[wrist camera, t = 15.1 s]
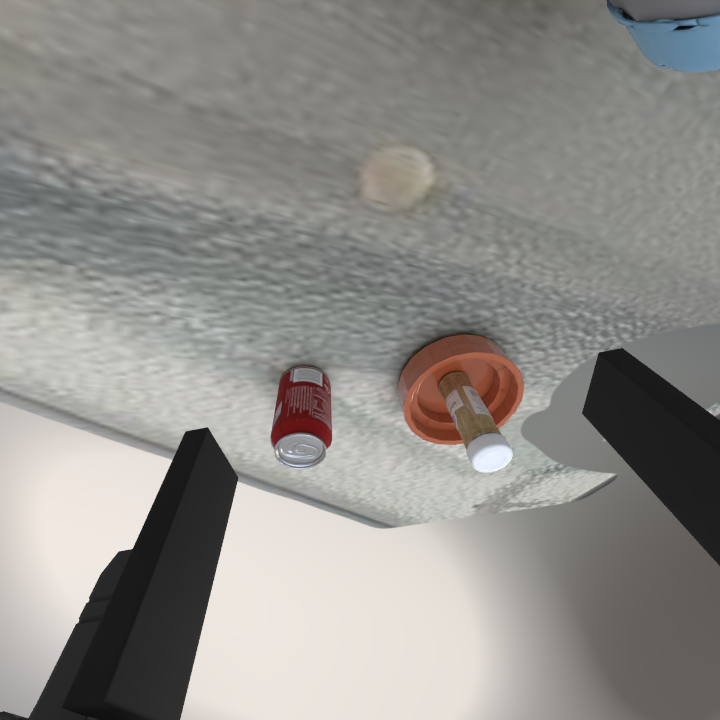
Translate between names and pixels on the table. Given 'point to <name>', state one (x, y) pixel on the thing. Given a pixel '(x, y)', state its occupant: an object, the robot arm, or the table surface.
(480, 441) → the sprinkles bottle
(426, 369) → the bowl
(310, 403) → the soda can
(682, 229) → the table surface
